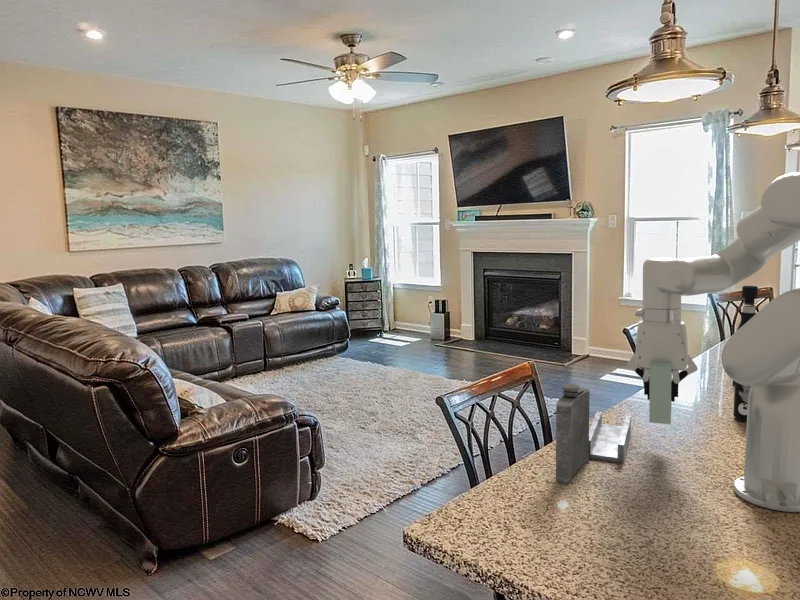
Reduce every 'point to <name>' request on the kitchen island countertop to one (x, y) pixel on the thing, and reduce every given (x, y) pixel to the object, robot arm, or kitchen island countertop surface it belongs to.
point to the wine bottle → (748, 311)
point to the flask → (572, 432)
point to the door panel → (660, 392)
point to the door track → (608, 439)
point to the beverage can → (741, 401)
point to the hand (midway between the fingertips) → (661, 398)
